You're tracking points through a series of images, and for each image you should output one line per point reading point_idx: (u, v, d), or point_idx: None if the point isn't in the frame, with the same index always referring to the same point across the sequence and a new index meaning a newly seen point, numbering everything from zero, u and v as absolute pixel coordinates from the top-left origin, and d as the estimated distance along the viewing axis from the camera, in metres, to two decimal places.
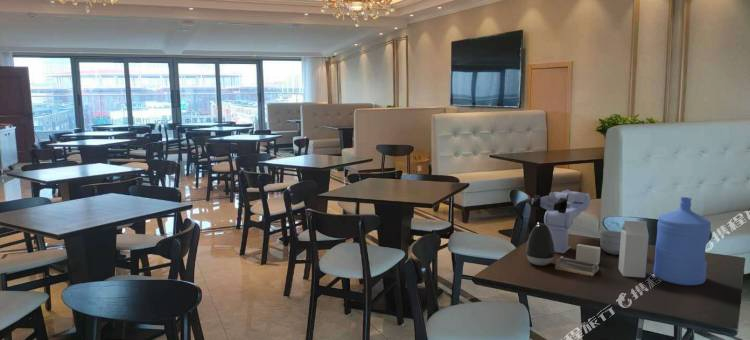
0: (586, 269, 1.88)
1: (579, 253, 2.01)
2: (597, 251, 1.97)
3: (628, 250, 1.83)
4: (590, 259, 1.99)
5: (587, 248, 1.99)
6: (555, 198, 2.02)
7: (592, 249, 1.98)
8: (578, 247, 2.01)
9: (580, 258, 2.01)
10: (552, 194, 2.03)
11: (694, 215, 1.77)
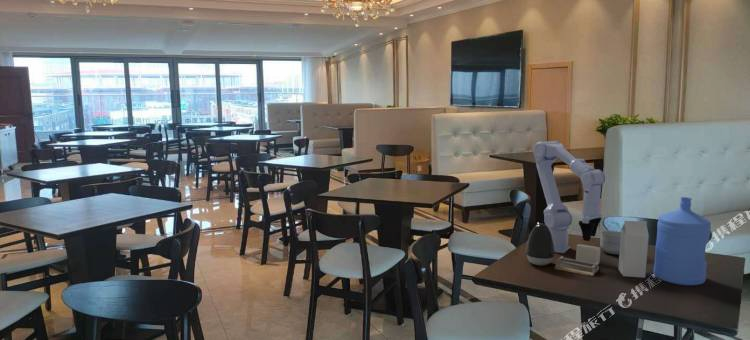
0: (586, 269, 1.88)
1: (579, 253, 2.01)
2: (597, 251, 1.97)
3: (628, 250, 1.83)
4: (590, 259, 1.99)
5: (587, 248, 1.99)
6: None
7: (592, 249, 1.98)
8: (578, 247, 2.01)
9: (580, 258, 2.01)
10: None
11: (694, 215, 1.77)
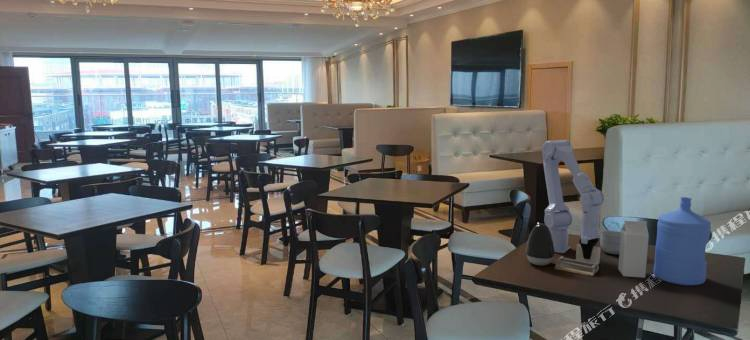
0: (586, 269, 1.88)
1: (579, 253, 2.01)
2: (597, 251, 1.97)
3: (628, 250, 1.83)
4: (590, 259, 1.99)
5: None
6: None
7: None
8: (578, 247, 2.01)
9: (580, 258, 2.01)
10: None
11: (694, 215, 1.77)
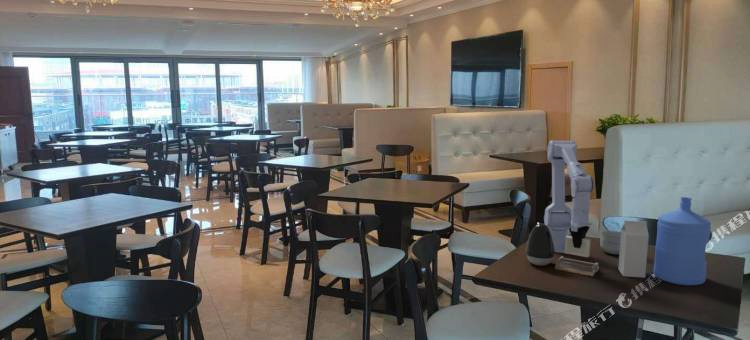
0: (586, 269, 1.88)
1: (568, 245, 1.92)
2: (587, 243, 1.88)
3: (628, 250, 1.83)
4: (579, 251, 1.90)
5: None
6: None
7: None
8: (567, 239, 1.92)
9: (569, 250, 1.92)
10: None
11: (694, 215, 1.77)
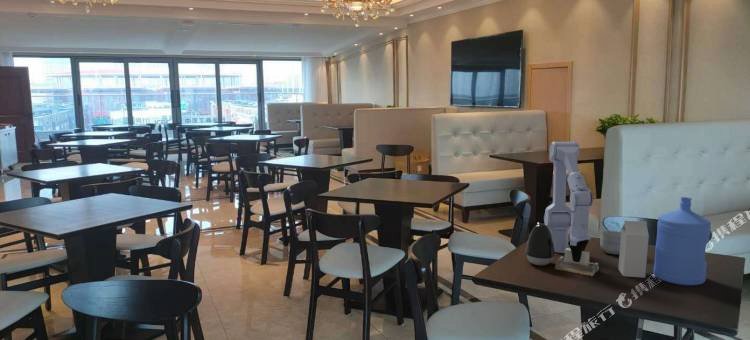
0: (586, 269, 1.88)
1: (567, 258, 1.93)
2: (586, 256, 1.89)
3: (628, 250, 1.83)
4: (579, 264, 1.90)
5: None
6: None
7: None
8: (566, 251, 1.93)
9: None
10: None
11: (694, 215, 1.77)
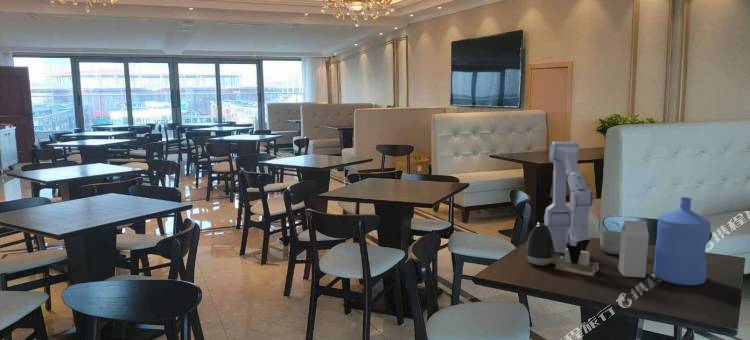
0: (586, 269, 1.88)
1: (567, 258, 1.93)
2: (586, 256, 1.89)
3: (628, 250, 1.83)
4: (579, 264, 1.90)
5: None
6: None
7: (581, 253, 1.90)
8: (566, 251, 1.93)
9: None
10: None
11: (694, 215, 1.77)
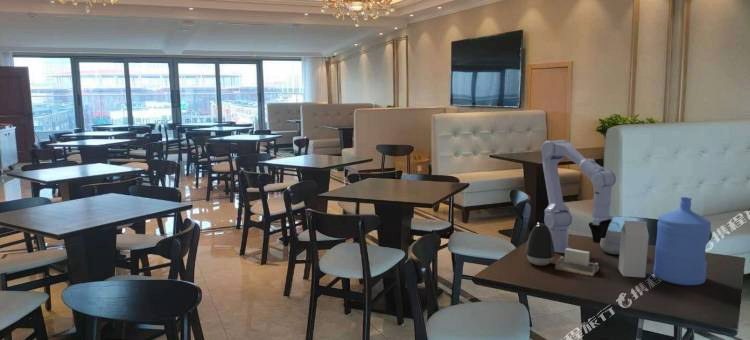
0: (586, 269, 1.88)
1: (567, 258, 1.93)
2: (586, 256, 1.89)
3: (628, 250, 1.83)
4: (579, 264, 1.90)
5: (576, 252, 1.91)
6: None
7: (581, 253, 1.90)
8: (566, 251, 1.93)
9: None
10: None
11: (694, 215, 1.77)
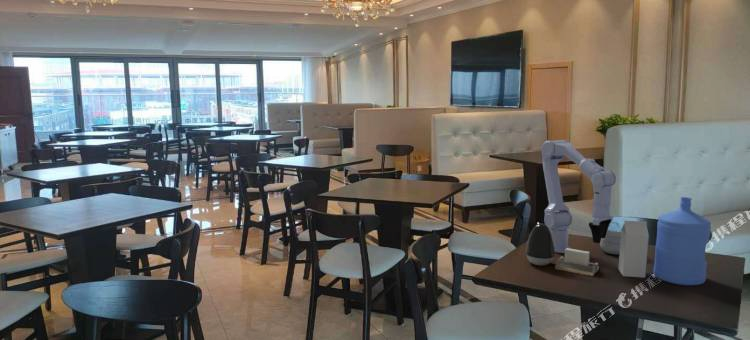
0: (586, 269, 1.88)
1: (567, 258, 1.93)
2: (586, 256, 1.89)
3: (628, 250, 1.83)
4: (579, 264, 1.90)
5: (576, 252, 1.91)
6: None
7: (581, 253, 1.90)
8: (566, 251, 1.93)
9: None
10: None
11: (694, 215, 1.77)
